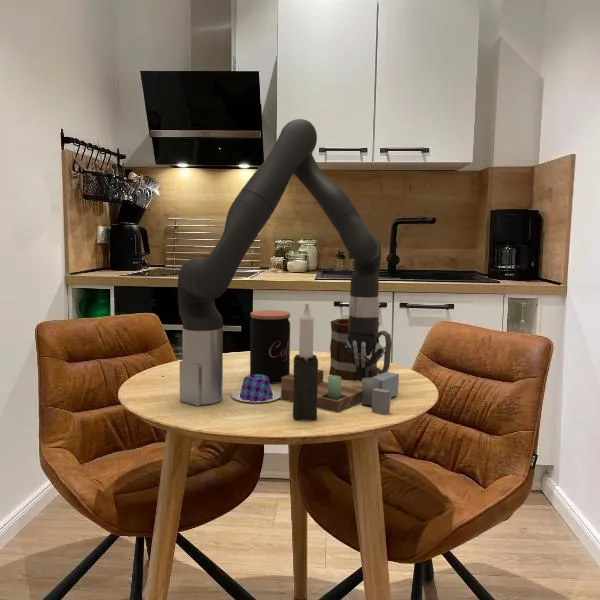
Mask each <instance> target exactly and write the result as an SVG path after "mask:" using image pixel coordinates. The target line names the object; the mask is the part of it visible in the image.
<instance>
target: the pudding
mask: <svg viewBox="0 0 600 600" xmlns="http://www.w3.org/2000/svg"><path fill="white" fill-rule="evenodd" d="M239 395H240V396H239ZM238 396H239V398H238ZM231 398H233V399H234V400H236V401H241V402H245V403H258V402H262V403H267V402H273V401H276V400H279V398H280V399H281V392H280V391H277V390H275V389H272V386H271V383H270V381H269V378H268V377H267V376H264V375H258V374H253V375H250V374H249V375H246V376H245V377H244V379H243V381H242V385H241V389H239V390H236V391H233V392H232V393H231ZM247 400H249V401H247Z"/></svg>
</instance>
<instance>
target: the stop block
mask: <svg viewBox="0 0 600 600" xmlns="http://www.w3.org/2000/svg"><path fill="white" fill-rule="evenodd" d="M372 411H373V413H376V412H378V413H377V414H381V413H382V415H388V414H389V413H390V411H391V397H390V390H385V389H379V388H375V389H373V390H372V405H371V412H372Z"/></svg>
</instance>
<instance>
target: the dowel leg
mask: <svg viewBox="0 0 600 600" xmlns="http://www.w3.org/2000/svg"><path fill="white" fill-rule="evenodd" d="M327 377H328V378H327V383H328V398H329V399H334V400H338V399H341V385H342V379H341V377H340V376H335V375H332V376H331V375H329V376H327Z"/></svg>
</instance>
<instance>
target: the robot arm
mask: <svg viewBox="0 0 600 600" xmlns="http://www.w3.org/2000/svg"><path fill="white" fill-rule="evenodd" d="M317 134H318V133H317V130H316V127H315V126H314V125H313V124H312V122H311V121H309V120H307V119H303V118H297V119H293V120H291V121H289V122H288V123H286V124H285V125H284V126H283V127H282V129H281V130H280V133H279V135H278V138H277V139H276V141H275V144H274V146H273V147H272V149H271V151H270V153H269V154H268V156H267V157H266V158H265V159H264V160H263V162H262V164H261V165H260V166H259V167H258V168H257V169H256V170H255V172H254V173H253V174H252V176H251V177H250V178H249V179H248V180H247V182H246V183H245V185H244V186H243V187H242V189H241V190H240V191H239V193H238V194H237V196H236V197H235V198H234V200H233V201H232V203H231V205H230V206H229V209H228V211H227V215H226V218H225V219H226V220H225V223H224V224H225V225H224V227H223V228H224V229H223V232H222V234H221V237H220V239H219V241H218V242H217V244H216V245H215V246H214V248H213V249H212V251H210V253H209V254H208V255H207V257H205V258H201V257H193V258H190V259H188V260H186V261H184V263H183V264H182V265H181V267H180V268H179V270H178V271H179V272H178V277H177V297H178V311H179V312H178V313H179V316H180V318H181V322H182V360H180V361H179V401H180V402H182V403H187V404H190V405H193V406H197V407H199V406H202V405H203V406H204V405H205V406H206V405H211V404H217V403H219V402H221V401H222V400H223V399H224V398H223V397H224V395H223V393H224V392H223V387H224V385H223V381H224V380H223V378H224V377H223V374H224V373H223V372H224V371H223V363H224V362H223V359H224V358H223V354H224V353H223V347H224V345H223V344H224V343H223V342H224V341H223V337H224V336H223V334H224V332H223V331H224V330H223V329H224V322H223V316H222V314H221V313H220V311H218V309H217V307H216V304H215V299H219V297H221V296H223V294H224V293H225V292H226V291H227V289H228V288H229V286H230V285H231V283H232V280H233V279H234V278H235V277H234V276H235V275H236V273H237V270H238V269H239V267H240V265H241V263H242V260H244V257H245V256H246V254H247V252H248V251H249V249H250V248H251V247H252V244H253V243H254V242H255V241H256V239H257V237H258V235H259V234H260V232H261V231H262V229H263V228H264V226H266V224H267V223H268V222H269V220H270V218H271V216H272V215H273V214H274V212H275V210H276V209H277V206H278V205H279V202H280V201H281V200H282V197H283V195H284V193H285V191H286V189H287V187H288V184H289V183H290V180H291V178H292V176H293V175H294V176H295V177H296V178H297V179H298V180H299V182H301V184H302V185H303V186H304V188H306V189H307V191H308V192H309V193H310V194H311V196H312V198H314V199H315V201H316V203H318V205H319V207H320V208H321V209H322V211H323V212H324V214H325V215H326V217H327V218H328V220H329V221H330V223H331V224H332V226H333V228H334V229H335V230H336V231H337V233H338V235H339V237H340V239H341V241H342V243H343V245H344V246H345V247H344V248H345V249H346V250H347V252H348V254H349V255H350V257H351V258H352V259H353V273H352V275H351V277H350V285H349V286H350V293H349V295H350V296H349V303H348V319H349V335H348V338H347V340H346V341H345V342H342V343H340V347H341V349H342V350H343V352H344V354H345V355H346V357H347V359H348V360H349V362H350V363H353V364H355V365H356V378H357V380H358V381H357V382H361V383H362V379H363V378H368V369H369V366H372V365H375V364H376V363H377V364H378V362H379V361H380V359H381V358H382V357H383V355H384V353H385V352H386V351H387V348H386V346H383V345H381V344H380V339H379V338H380V337H379V338H378V332H379V329H378V326H379V327H380V320H379V319H380V316H379V315H380V302H379V301H380V300H379V284H380V283H379V273H380V266H381V261H382V259H381V258H382V245H381V242H380V241H381V240H379V238H378V237H377V236H375V235H373V234H371V233H370V232H369V230H368V229H367V227H366V225H365V224H364V222H363V221H362V218H361V214H360V213H359V211H358V209H357V207H356V206H355V205H354V204H353V202H352V200H351V199H350V197H349V196H348V195H347V194H346V192H345V191H344V190H342V188H341V187H340V186H339V185H338V184H336V183H335V182H334V181H332V180H331V179H330V178H329V177H328V176H327V175H326V174H325V173H324V172H323V171H322V170H321V168H320V167H319V165H318V163H317V161H316V159H315V158H314V155H313V153H314V151H315V148H316V146H317V143H318V135H317ZM351 347H352V348H351ZM375 348H376V349H375ZM352 349H353V350H354V351H353V350H352ZM374 349H375V352H376V353H375V354H374V355H373V357H372V358H371V356H372V352H373V350H374ZM370 358H371V359H370Z"/></svg>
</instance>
